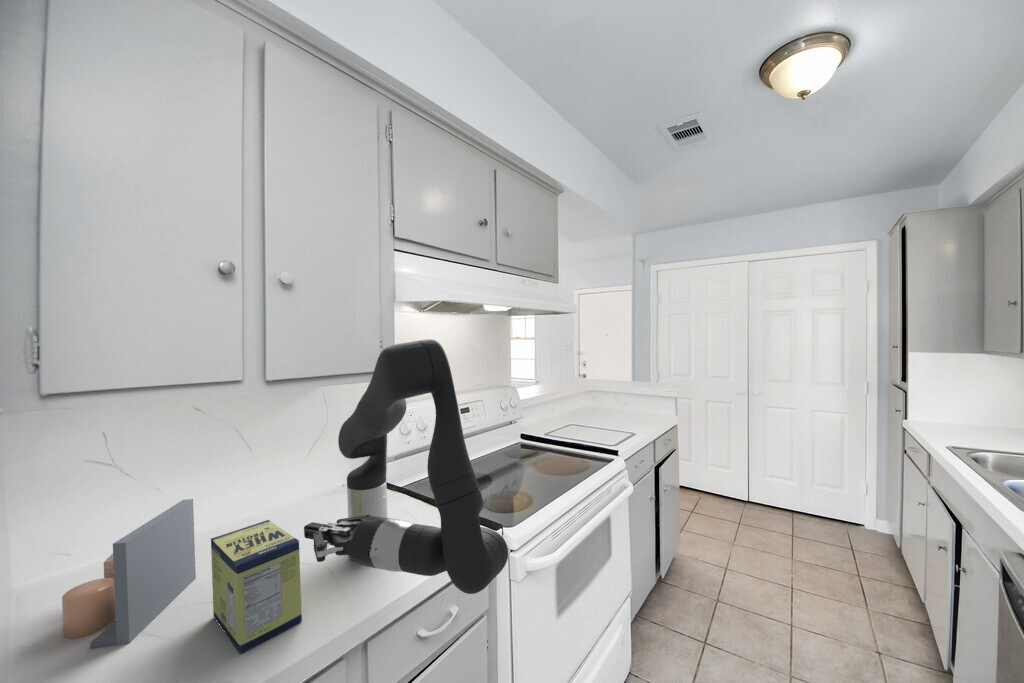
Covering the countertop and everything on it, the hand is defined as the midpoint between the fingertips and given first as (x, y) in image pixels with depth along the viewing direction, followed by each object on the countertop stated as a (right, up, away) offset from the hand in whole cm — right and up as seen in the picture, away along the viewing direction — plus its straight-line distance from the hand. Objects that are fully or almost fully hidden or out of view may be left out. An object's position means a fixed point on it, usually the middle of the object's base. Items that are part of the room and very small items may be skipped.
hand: (307, 529), depth 73 cm
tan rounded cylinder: (-43, -20, +4) cm, 48 cm away
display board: (-36, -20, +9) cm, 42 cm away
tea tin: (-45, -20, +13) cm, 51 cm away
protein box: (-12, -20, +5) cm, 24 cm away
